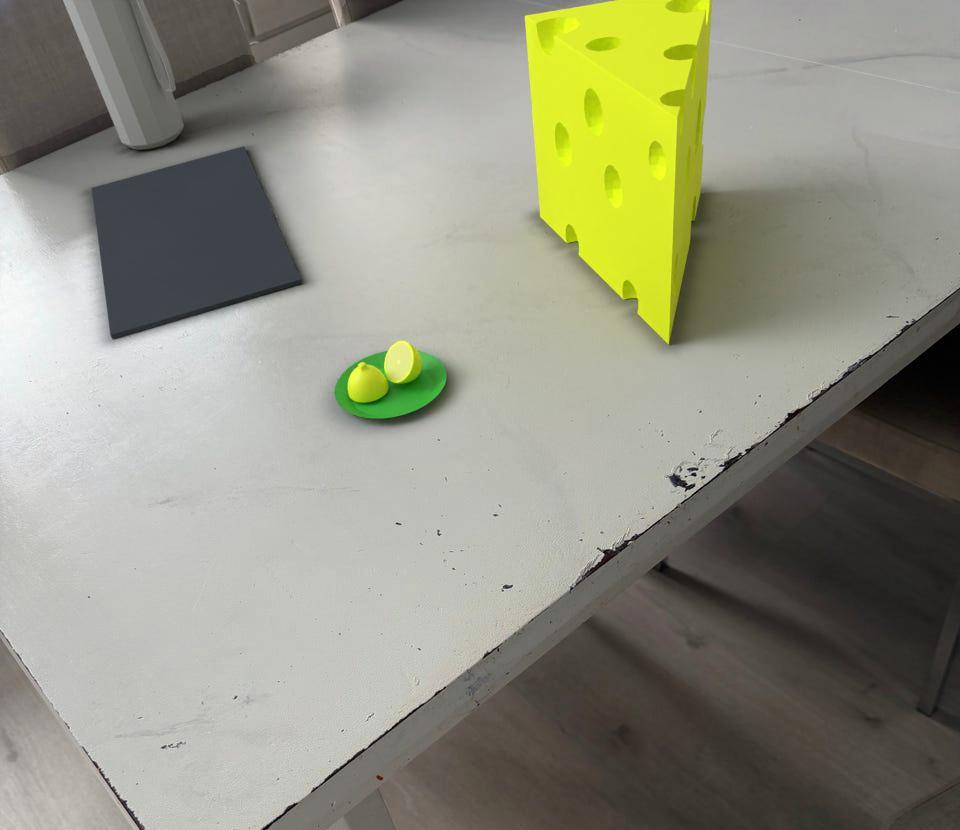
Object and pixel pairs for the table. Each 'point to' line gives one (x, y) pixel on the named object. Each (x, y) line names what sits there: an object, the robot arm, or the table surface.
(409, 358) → the lemon
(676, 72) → the cheese wedge
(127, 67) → the water bottle
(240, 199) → the slate mat
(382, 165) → the table surface
